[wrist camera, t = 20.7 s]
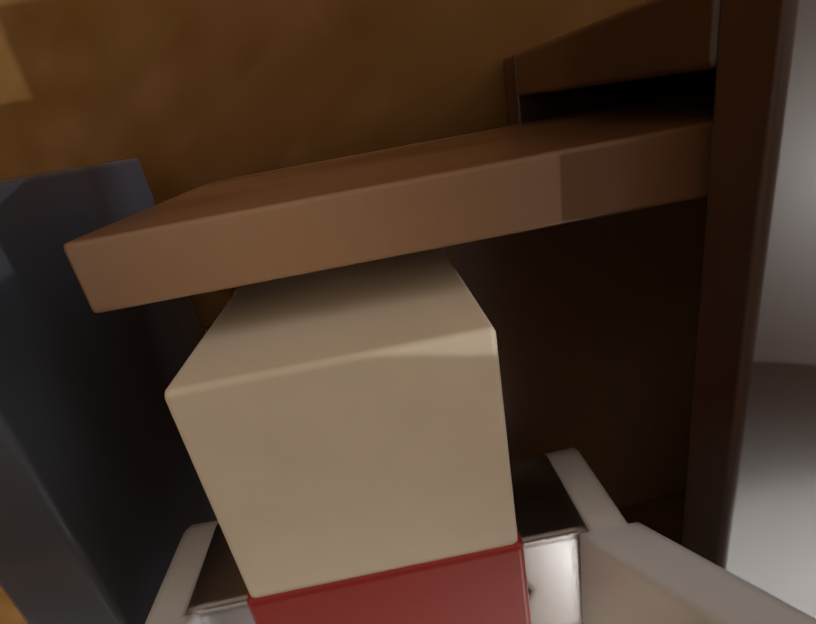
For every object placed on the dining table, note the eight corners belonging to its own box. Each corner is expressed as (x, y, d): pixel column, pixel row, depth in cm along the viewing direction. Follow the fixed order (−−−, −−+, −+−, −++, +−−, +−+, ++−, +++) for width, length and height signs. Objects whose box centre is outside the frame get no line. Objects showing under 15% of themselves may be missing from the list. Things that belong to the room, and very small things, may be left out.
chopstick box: (488, 573, 11) (548, 781, 8) (347, 604, 11) (342, 826, 7) (440, 237, 8) (503, 328, 4) (241, 275, 8) (150, 397, 4)
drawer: (70, 626, 14) (-104, 930, 9) (-204, 219, 10) (-930, 349, 4) (705, 494, 15) (903, 708, 9) (748, 44, 10) (1200, -44, 5)
